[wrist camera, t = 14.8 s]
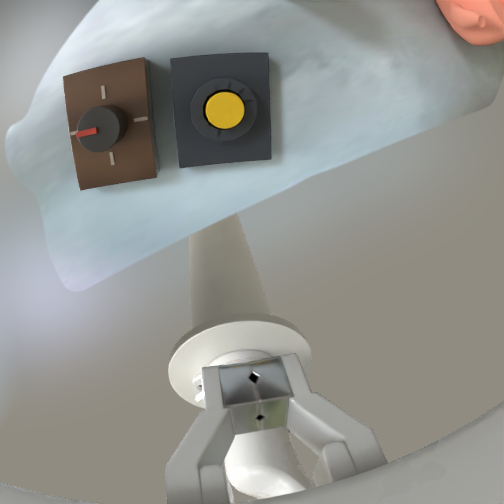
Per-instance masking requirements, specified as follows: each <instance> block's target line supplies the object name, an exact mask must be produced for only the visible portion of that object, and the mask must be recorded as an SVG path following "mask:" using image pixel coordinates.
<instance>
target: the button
mask: <svg viewBox="0 0 504 504" xmlns="http://www.w3.org/2000/svg"><path fill="white" fill-rule="evenodd" d="M206 115H207V118H208V120H209V121H210V122H211V123H212V124H213V125H214V126H216V127H218V128H222V129H227V128H232V127H234V126H236V125H237V124H238V123H239V122H240V121H241V120H242V118H243V116H244V104H243V102H242V100H241V99H240V98H239V97H238V96H237V95H235V94H233V93H229V92H220V93H217V94H215V95H213V96H212V97H211V98H210V99H209V100H208V102H207V104H206Z"/></svg>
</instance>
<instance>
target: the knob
mask: <svg viewBox="0 0 504 504" xmlns="http://www.w3.org/2000/svg"><path fill="white" fill-rule="evenodd" d="M126 130H127V118H126V115H125V114H124V112H123V111H122V110H121V109H120V108H119V107H117V106H114V105H103V106H99V107H95V108H92V109H90V110H88V111H87V112H85V113H84V114H83V115H82V117H81V118H80V120H79V122H78V126H77V132H76V136H77V138H78V139H79V142H80V143H81V145H82V146H83V147H84V148H85V149H87V150H88V151H91V152H95V153H99V152H104V151H106V150H108V149H110V148H111V147H112V146H114V145H115V144H116V143H118V142H119V141H120V140H121V139H122V138H123V137H124V135H125V133H126Z"/></svg>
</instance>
